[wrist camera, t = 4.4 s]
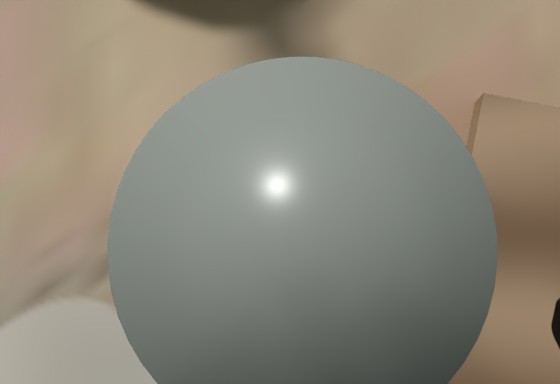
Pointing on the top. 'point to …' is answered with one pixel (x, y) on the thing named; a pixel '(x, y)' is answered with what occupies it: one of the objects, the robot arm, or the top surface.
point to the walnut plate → (519, 241)
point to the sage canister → (302, 233)
